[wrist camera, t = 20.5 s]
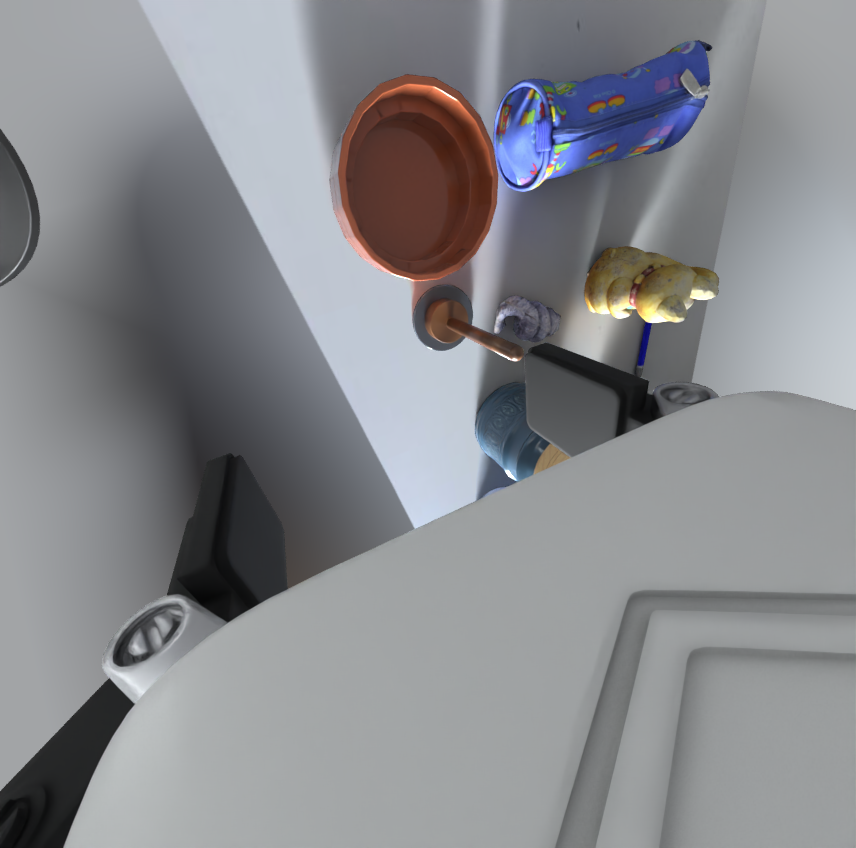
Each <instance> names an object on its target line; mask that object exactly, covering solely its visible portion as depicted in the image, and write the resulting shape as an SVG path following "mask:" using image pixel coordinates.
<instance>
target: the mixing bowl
mask: <svg viewBox="0 0 856 848" xmlns="http://www.w3.org/2000/svg"><path fill="white" fill-rule="evenodd" d="M330 188H331V195H332V203H333V210H334V213H335V215H336V217H337V220H338V222H339V224H340V227H341V229H342V232H343V234H344V236H345V238H346V239H347V240H348V242H349V243H350V244H351V245H352V247H353V248H354V249H355V250H356V252H357V253H358V254H359V256H360V257H361V258H363V259H364V260H365V261H367V262H368V263H370V264H371V265H373V266H374V267H376V268H377V269H378V270H380V271H383V272H386V273H390V274H393V275H397V276H400V277H404V278H407V279H411V280H414V281H423V280H435V279H440V278H442V277H444V276H446V275H449V274H451V273H453V272H455V271H457V270H459V269H460V268H461V267H462V266H463V265H464V264H465V263H466V262H467V261H468V260H470V259H471V258H472V257H473V256H474V255H475V254H476V252H477V251H478V249H479V247H480V245H481V244H482V242H483V240H484V239H485V237H486V235H487V234H488V232H489V229H490V226H491V222H492V219H493V215H494V212H495V209H496V204H497V189H498V171H497V166H496V160H495V155H494V149H493V145H492V142H491V140H490V137H489V135H488V133H487V131H486V128H485V126H484V124H483V122H482V119H481V117H480V115H479V114H478V113H477V112H476V111H475V109H474V108H473V107H472V106H471V105H470V103H469V102H468V101H467V100H466V99H465V97H464V96H463V95H462V94H461V93H460V92H459V91H457V90H455V89H454V88H452V87H450V86H448V85H447V84H445V83H443V82H442V81H440V80H438V79H436V78H434V77H427V76H418V75H409V74H407V75H403V76H400V77H398V78H395V79H392V80H389V81H387V82H384V83H381V84H379V85H378V86H377V87H376V88H375V89H374V90H373V91H372V92H371V93H370V94H369V95H368V96H367V97H366V98H365V99H364V100H363V101H362V102H361V103H360V104H359V105H358V106H357V107H356V109H355V110H354V112H353V113H352V115H351V117H350V118H349V120H348V121H347V123H346V124H345V127H344V129H343V131H342V133H341V135H340V137H339V139H338V142H337V144H336V146H335V148H334V151H333V157H332V164H331V172H330Z"/></svg>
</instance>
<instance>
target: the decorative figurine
mask: <svg viewBox="0 0 856 848" xmlns="http://www.w3.org/2000/svg"><path fill="white" fill-rule="evenodd" d="M718 283H719V278H718V276H717V274H716V273H714V272H713V271H711V270H708V269H706V268H700V267H691V266H686V265H683V264H681V263H679V262H677V261H675V260H672V259H670V258H668V257H666V256H663V255H660V254H658V253H652V252H644V251H642V250H640V249H638V248H635V247H628V246H624V247H618V248H607V249H606V250H605V251H603V253H602V256H601V258H599V259H598V260H597V261H596V262H595V264H594V265H593V267H592V268H591V269H590V271H589V272H588V273H587V279H586V283H585V290H584V296H585V301H586V304H587V306H588V308H589V310H590V311H591V312H597V313H599V314H608V313H611V314H612V315H613V316H614V317H616V318H625V317H628V316H630V315H631V313H632V310H633V309H637V311H638V314H639V315H640V316H641V317H642V318H643V319H644V320H645V321H646V322H649V323H659V322H664V321H671V322H675V323H677V322H682V321H683V320H685V319H686V317H687V309H688V308H689V307H690V306H691V305H692V304H693V302H694V300H695V299H699V300H707V299H711V298H713V297H715V296H717V294H718V291H719V290H718Z"/></svg>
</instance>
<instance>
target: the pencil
mask: <svg viewBox="0 0 856 848" xmlns="http://www.w3.org/2000/svg"><path fill="white" fill-rule="evenodd" d="M651 325H652V323H649V322H645V327H644V332H643V337H642V343H641V348H640V353H639V359H638V364H637V369H636V374H635V376H637V377H641V375H642V370H643V366H644V360H645V355H646V350H647V345H648V340H649V335H650V330H651Z"/></svg>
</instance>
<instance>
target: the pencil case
mask: <svg viewBox="0 0 856 848" xmlns="http://www.w3.org/2000/svg"><path fill="white" fill-rule="evenodd" d="M711 49H712V46H711V45H709V44H707V43H704V42H701V41H700V40H698V41H687V42H684V43H682V44H680V45H677V46H676V47H674V48H672V49H671V50H670V51H669V52H667V53H666V54H665V55H663V56H660V57H657V58H655V59H652V60H650V61H648V62H646V63H644V64H642V65H639V66H637V67H635V68H632V69H631V70H629V71H627V72H625V73H620V74H608V75H601V76H596V77H593V78H590V79H587V80H585V81H583V82H577V81H571V82H551V81H547V80H542V79H527V80H522V81H520V82H518V83H517V84H515V85H514V86H513V87H512V88H511V89H510V90H509V91H508V92H507V93H506V95H505V96H504V98H503V99H502V101H501V103H500V105H499V108H498V111H497V114H496V118H495V124H494V147H495V153H496V157H497V163H498V167H499V171H500V174H501V176H502V178H503V180H504V182H505V183H506V184H507V185H508V186H509V187H510V188H512V189H513V190H516V191H528V190H532V189H534V188H536V187H538V186H539V185H540V184H541V183H542V182H543V181H544V180H545V179H551V178H556V177H561V176H565V175H569V174H573V173H576V172H578V171H581V170H583V169H586V168H590V167H593V166H597V165H600V164H603V163H607V162H611V161H616V160H619V159H624V158H629V157H634V156H638V155H641V154H651V153H654V152H659V151H662V150H665V149H667V148H669V147H671V146H673V145H675V144H676V143H678V142H679V141H680V140H681V139H682V138H683V137H684V136H685V135H686V134H687V132H688V131H689V130H690V128H691V127H692V126H693V124H694V122H695V121H696V119H697V117H698V115H699V114H700V112H701V110H702V109H703V108H704V105H705V101H706V100H707V98H708V96H707V93H708V92H709V89H708V86H709V85H710V81H709V80H710V74H709V65H708V58H707V53H706V51H710V50H711Z"/></svg>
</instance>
